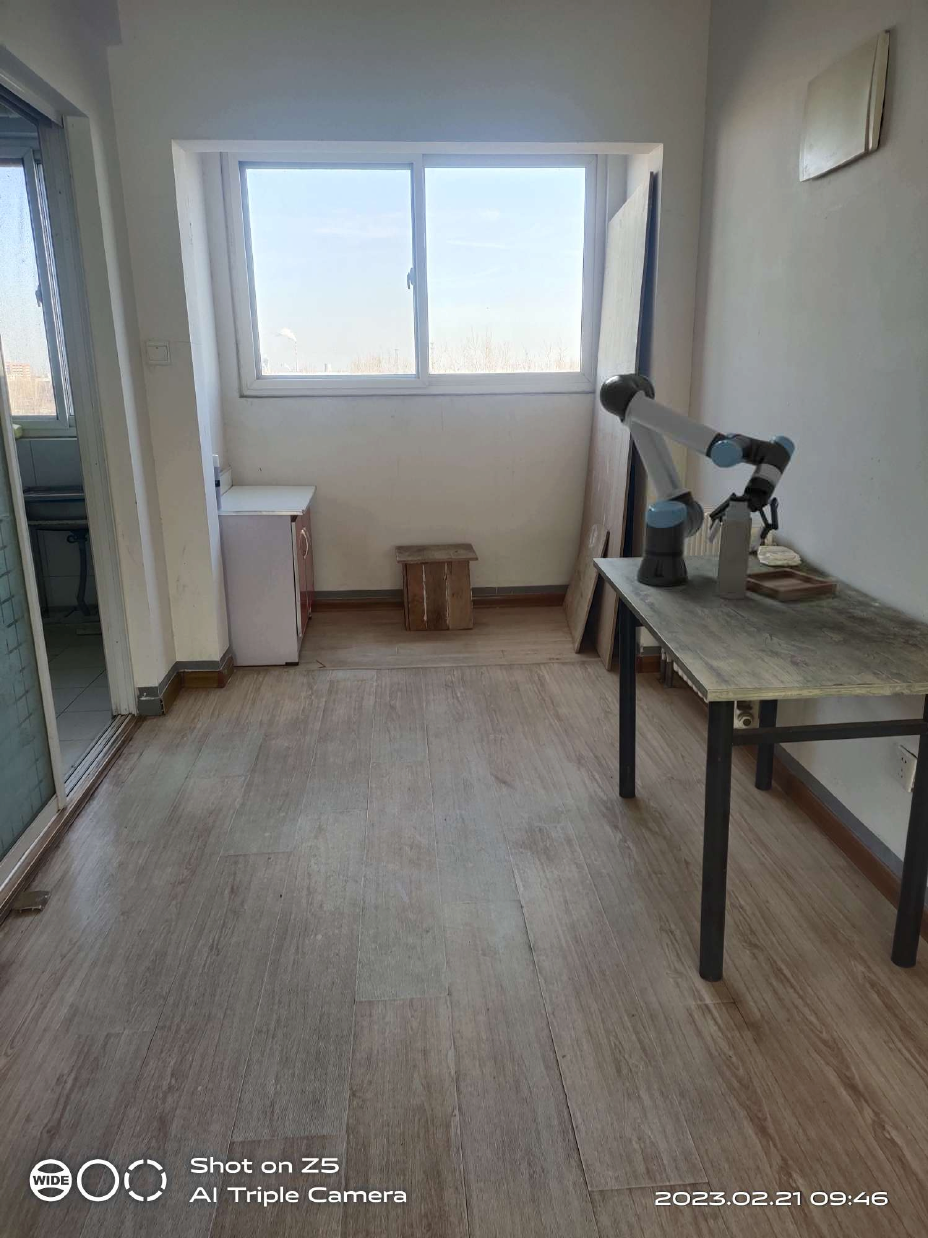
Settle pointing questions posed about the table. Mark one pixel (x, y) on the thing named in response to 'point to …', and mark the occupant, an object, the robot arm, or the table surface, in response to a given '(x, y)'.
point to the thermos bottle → (734, 549)
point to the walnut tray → (788, 585)
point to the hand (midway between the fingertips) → (731, 544)
